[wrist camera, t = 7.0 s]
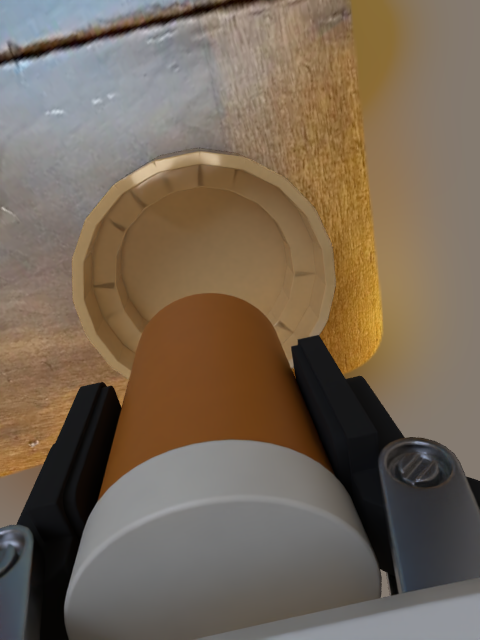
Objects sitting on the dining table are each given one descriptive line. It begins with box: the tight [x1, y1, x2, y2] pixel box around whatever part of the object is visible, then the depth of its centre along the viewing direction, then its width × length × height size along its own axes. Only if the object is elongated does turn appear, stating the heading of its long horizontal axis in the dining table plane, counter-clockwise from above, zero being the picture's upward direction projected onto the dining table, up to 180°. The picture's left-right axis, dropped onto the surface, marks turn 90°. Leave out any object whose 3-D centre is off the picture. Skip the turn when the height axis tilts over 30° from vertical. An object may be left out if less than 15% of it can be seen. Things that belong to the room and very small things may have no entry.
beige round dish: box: [72, 148, 336, 379], centre depth 26 cm, size 14×14×5 cm
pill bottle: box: [64, 293, 381, 640], centre depth 10 cm, size 5×5×8 cm
